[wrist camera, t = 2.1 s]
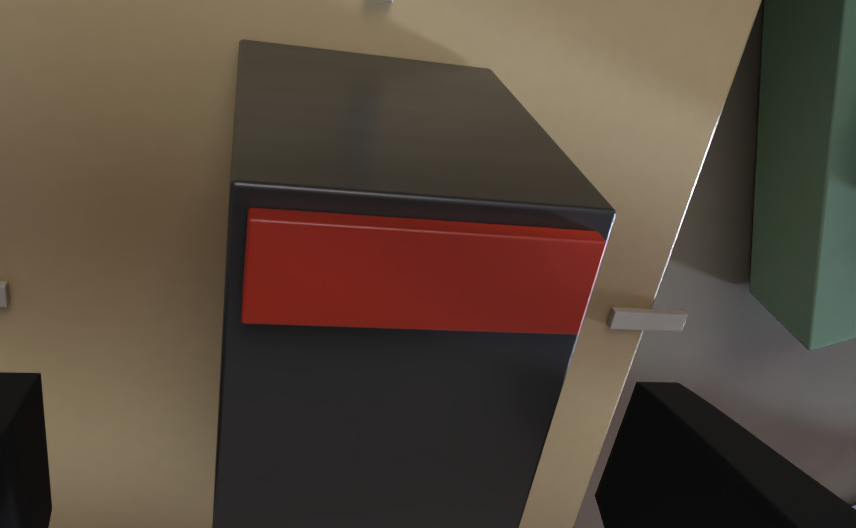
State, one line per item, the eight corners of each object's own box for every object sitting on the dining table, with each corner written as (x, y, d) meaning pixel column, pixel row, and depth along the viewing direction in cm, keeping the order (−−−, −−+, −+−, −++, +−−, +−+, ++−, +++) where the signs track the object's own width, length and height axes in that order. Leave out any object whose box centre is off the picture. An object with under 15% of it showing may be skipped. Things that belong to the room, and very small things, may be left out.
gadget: (403, 490, 15) (460, 750, 11) (215, 493, 14) (199, 776, 10) (491, 68, 11) (629, 223, 7) (238, 37, 10) (229, 194, 6)
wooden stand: (548, 483, 19) (587, 575, 17) (-7, 493, 16) (-49, 606, 14) (737, -96, 13) (838, -75, 11) (-104, -254, 10) (-210, -270, 8)
